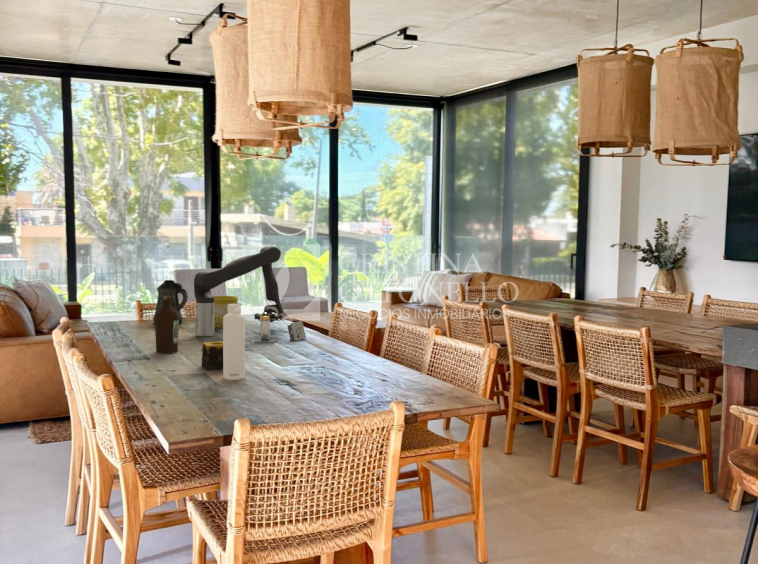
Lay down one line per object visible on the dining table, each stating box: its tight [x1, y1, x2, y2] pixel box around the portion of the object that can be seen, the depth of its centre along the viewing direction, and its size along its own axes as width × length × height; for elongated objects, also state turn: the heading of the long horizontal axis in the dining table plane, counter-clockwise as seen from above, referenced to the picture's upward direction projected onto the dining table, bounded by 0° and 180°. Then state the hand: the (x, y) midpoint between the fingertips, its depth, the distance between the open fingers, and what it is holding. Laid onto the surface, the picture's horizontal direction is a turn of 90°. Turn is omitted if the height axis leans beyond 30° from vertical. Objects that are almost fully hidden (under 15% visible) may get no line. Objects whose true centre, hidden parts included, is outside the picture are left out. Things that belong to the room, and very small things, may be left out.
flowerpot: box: [212, 295, 239, 328], centre depth 403 cm, size 18×18×16 cm
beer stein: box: [152, 279, 189, 325], centre depth 409 cm, size 16×19×25 cm
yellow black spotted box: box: [201, 340, 223, 371], centre depth 288 cm, size 10×10×10 cm
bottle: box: [222, 303, 246, 381], centre depth 269 cm, size 8×8×28 cm
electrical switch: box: [286, 320, 307, 342], centre depth 360 cm, size 9×5×9 cm, turn 152°
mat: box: [253, 338, 277, 344], centre depth 353 cm, size 10×10×1 cm
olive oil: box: [153, 297, 180, 354], centre depth 320 cm, size 11×11×25 cm
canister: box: [260, 316, 271, 341], centre depth 353 cm, size 4×4×12 cm
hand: (267, 318), depth 363 cm, fingers open, 8 cm apart
